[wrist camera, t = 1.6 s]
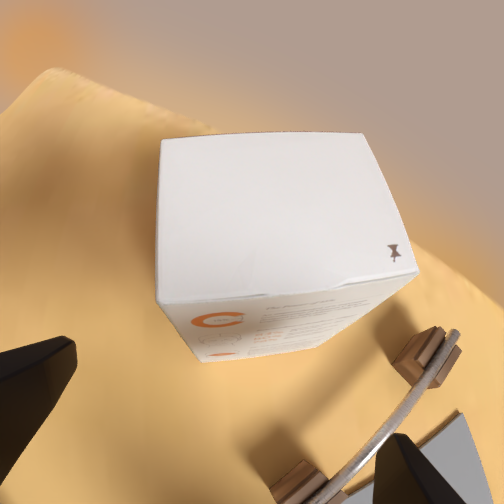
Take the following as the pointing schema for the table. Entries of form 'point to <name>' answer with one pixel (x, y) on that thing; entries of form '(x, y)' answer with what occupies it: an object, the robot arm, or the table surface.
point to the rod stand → (410, 368)
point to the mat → (448, 465)
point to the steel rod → (387, 424)
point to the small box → (273, 240)
